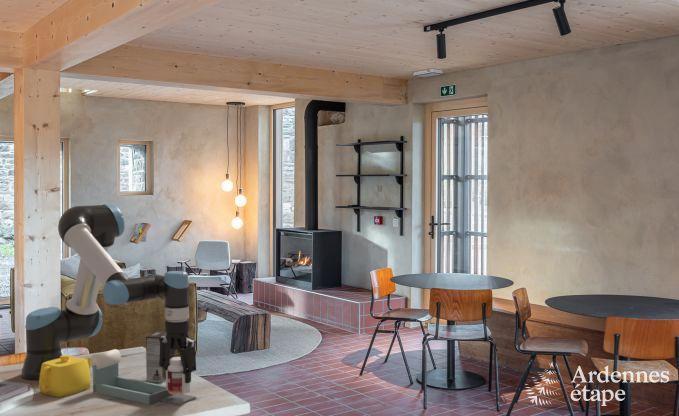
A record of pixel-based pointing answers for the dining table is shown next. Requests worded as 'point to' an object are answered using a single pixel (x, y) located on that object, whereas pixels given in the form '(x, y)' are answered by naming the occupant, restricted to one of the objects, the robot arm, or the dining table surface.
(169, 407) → the dining table surface
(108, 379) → the teal rectangular frame
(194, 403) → the dining table surface
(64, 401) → the dining table surface
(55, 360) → the teapot
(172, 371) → the pill bottle
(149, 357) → the coffee box
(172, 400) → the coaster
